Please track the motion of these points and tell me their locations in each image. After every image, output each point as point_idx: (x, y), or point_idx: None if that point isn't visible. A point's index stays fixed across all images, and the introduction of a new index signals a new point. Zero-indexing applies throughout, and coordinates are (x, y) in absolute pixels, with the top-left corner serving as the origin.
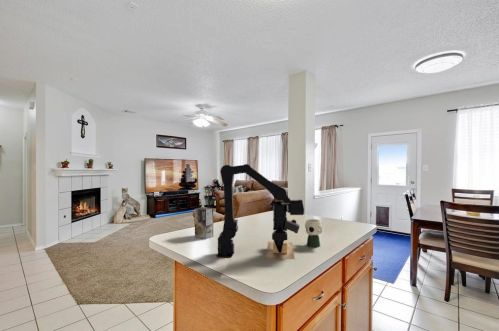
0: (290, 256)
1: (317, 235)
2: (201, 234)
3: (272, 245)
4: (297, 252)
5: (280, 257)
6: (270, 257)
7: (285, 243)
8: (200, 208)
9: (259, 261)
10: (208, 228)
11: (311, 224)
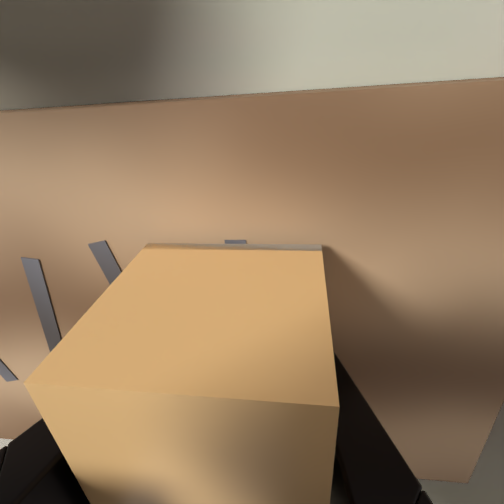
0: (439, 176)
1: None
2: None
3: (8, 402)
4: (34, 11)
5: (479, 341)
6: (460, 443)
7: (240, 432)
8: None
9: (484, 491)
10: None
11: None
